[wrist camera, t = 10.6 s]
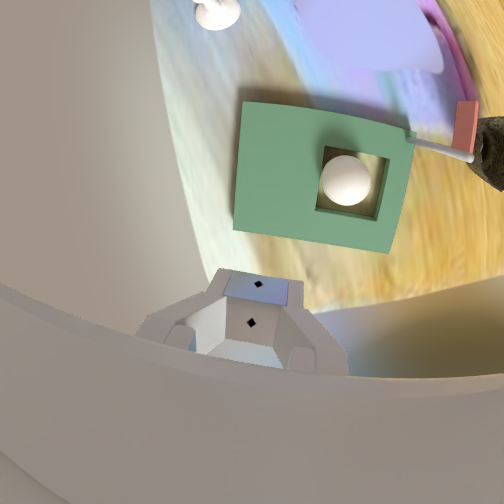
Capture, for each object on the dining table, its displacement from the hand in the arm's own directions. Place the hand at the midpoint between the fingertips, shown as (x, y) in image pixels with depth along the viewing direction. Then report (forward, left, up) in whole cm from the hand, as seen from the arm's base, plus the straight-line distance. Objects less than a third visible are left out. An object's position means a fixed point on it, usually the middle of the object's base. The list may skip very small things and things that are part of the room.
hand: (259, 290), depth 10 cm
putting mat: (-2, +4, -22) cm, 22 cm away
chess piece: (-18, -9, -22) cm, 30 cm away
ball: (-1, +6, -19) cm, 20 cm away
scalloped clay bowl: (-8, +21, -22) cm, 31 cm away
